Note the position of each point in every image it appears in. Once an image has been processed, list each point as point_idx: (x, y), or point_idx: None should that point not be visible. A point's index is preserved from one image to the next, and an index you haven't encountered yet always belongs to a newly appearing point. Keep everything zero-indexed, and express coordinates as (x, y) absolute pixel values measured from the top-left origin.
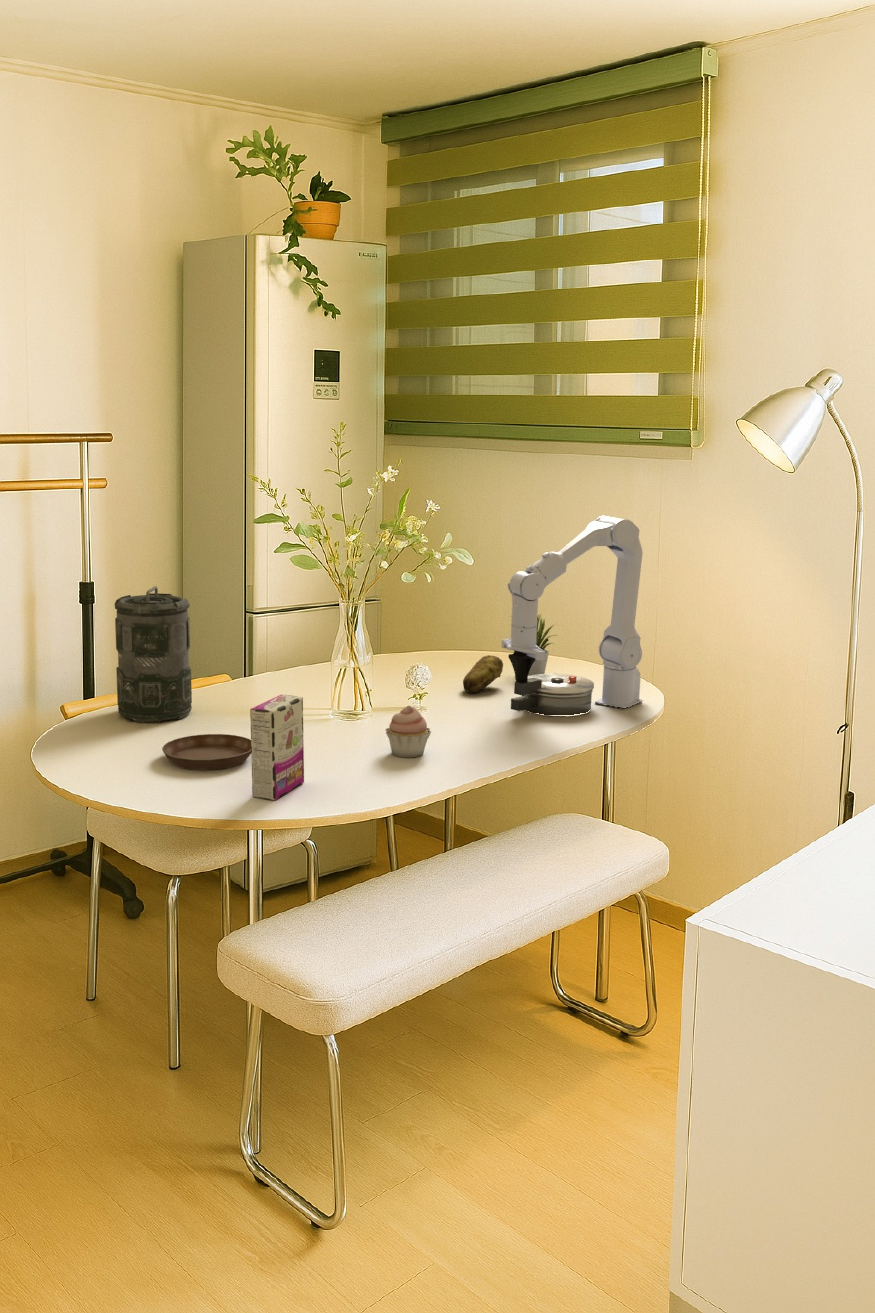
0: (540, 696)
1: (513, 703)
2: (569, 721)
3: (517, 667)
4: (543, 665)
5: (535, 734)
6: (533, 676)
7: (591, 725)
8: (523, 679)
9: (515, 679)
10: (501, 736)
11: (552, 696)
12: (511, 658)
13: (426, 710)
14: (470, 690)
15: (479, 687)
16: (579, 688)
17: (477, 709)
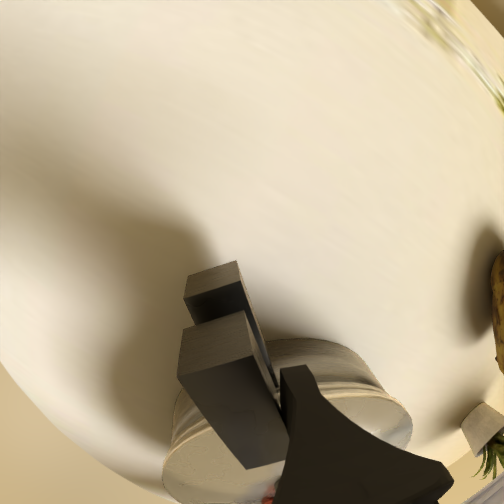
0: None
1: (221, 276)
2: (125, 392)
3: (296, 457)
4: (468, 438)
5: (9, 225)
6: (396, 440)
7: (84, 410)
8: (288, 416)
9: (315, 381)
10: (21, 101)
11: (184, 432)
12: (392, 486)
13: (415, 28)
14: (497, 257)
15: (493, 285)
16: (188, 497)
17: (382, 181)
